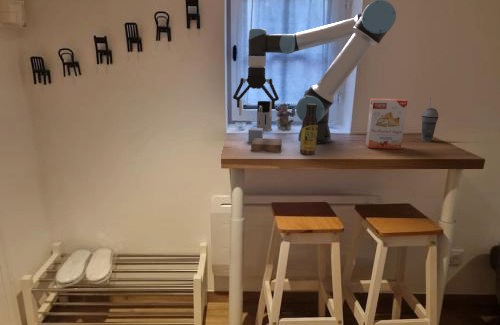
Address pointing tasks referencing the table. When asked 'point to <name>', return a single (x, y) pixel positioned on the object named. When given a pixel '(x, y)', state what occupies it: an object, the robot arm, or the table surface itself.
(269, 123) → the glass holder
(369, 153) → the table surface
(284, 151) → the table surface
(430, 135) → the beverage cup
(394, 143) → the cracker box
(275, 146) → the walnut base
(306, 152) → the sauce bottle
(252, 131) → the grey cube
